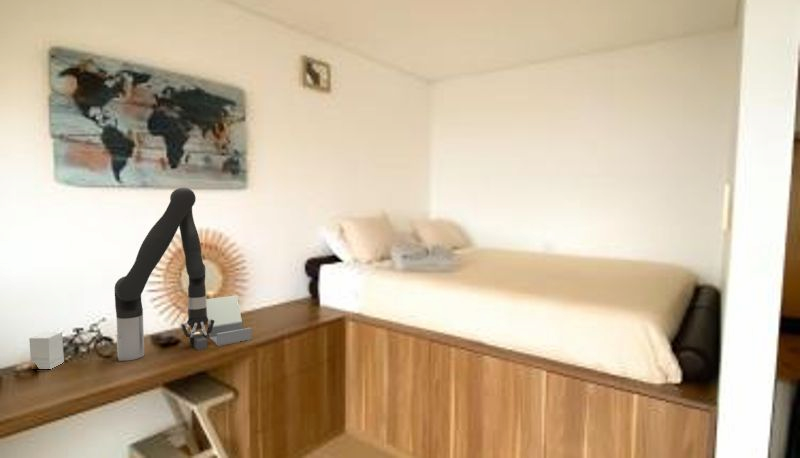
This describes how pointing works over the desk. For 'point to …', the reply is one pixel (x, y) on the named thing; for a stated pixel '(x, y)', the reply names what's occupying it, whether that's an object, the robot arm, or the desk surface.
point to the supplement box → (47, 350)
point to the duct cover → (223, 310)
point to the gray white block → (199, 341)
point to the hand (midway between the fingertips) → (198, 344)
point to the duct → (230, 333)
